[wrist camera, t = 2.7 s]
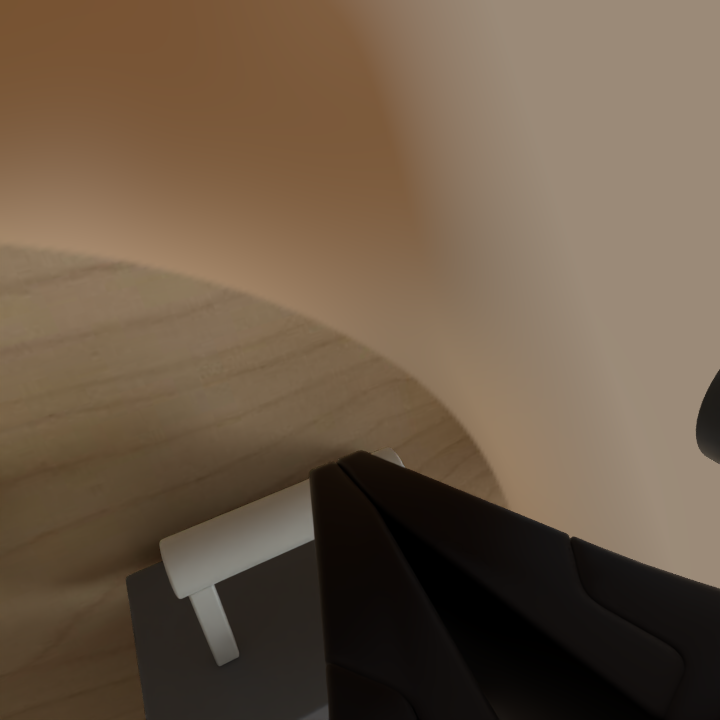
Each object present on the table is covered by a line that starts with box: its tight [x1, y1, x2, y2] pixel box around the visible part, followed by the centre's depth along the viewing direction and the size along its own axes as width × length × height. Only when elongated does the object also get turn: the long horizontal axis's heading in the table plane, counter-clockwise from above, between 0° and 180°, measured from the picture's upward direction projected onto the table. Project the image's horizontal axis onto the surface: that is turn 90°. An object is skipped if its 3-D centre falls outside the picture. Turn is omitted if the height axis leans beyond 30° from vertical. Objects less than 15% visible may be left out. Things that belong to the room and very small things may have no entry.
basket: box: [126, 447, 404, 720], centre depth 19 cm, size 16×9×7 cm, turn 8°
